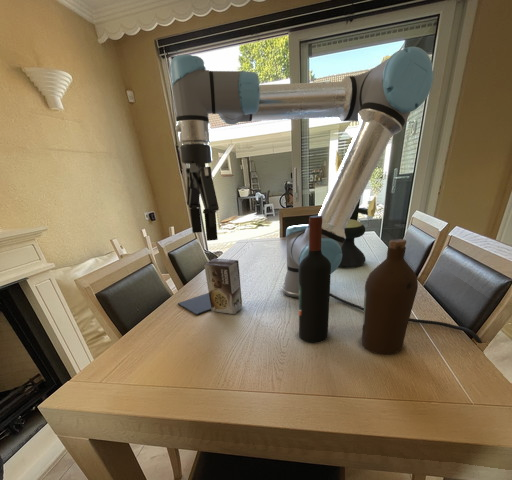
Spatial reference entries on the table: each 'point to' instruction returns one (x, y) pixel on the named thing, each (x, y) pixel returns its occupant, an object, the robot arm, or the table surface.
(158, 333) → the table surface
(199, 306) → the placemat
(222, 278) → the coffee box
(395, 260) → the olive oil
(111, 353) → the table surface
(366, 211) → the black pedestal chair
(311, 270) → the wine bottle
